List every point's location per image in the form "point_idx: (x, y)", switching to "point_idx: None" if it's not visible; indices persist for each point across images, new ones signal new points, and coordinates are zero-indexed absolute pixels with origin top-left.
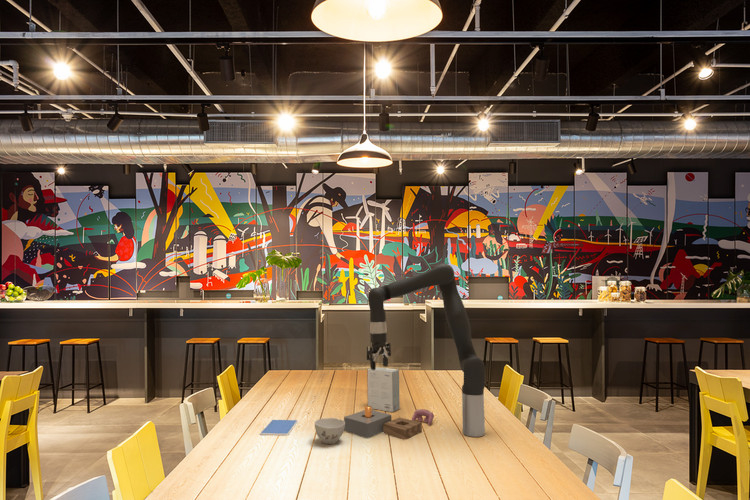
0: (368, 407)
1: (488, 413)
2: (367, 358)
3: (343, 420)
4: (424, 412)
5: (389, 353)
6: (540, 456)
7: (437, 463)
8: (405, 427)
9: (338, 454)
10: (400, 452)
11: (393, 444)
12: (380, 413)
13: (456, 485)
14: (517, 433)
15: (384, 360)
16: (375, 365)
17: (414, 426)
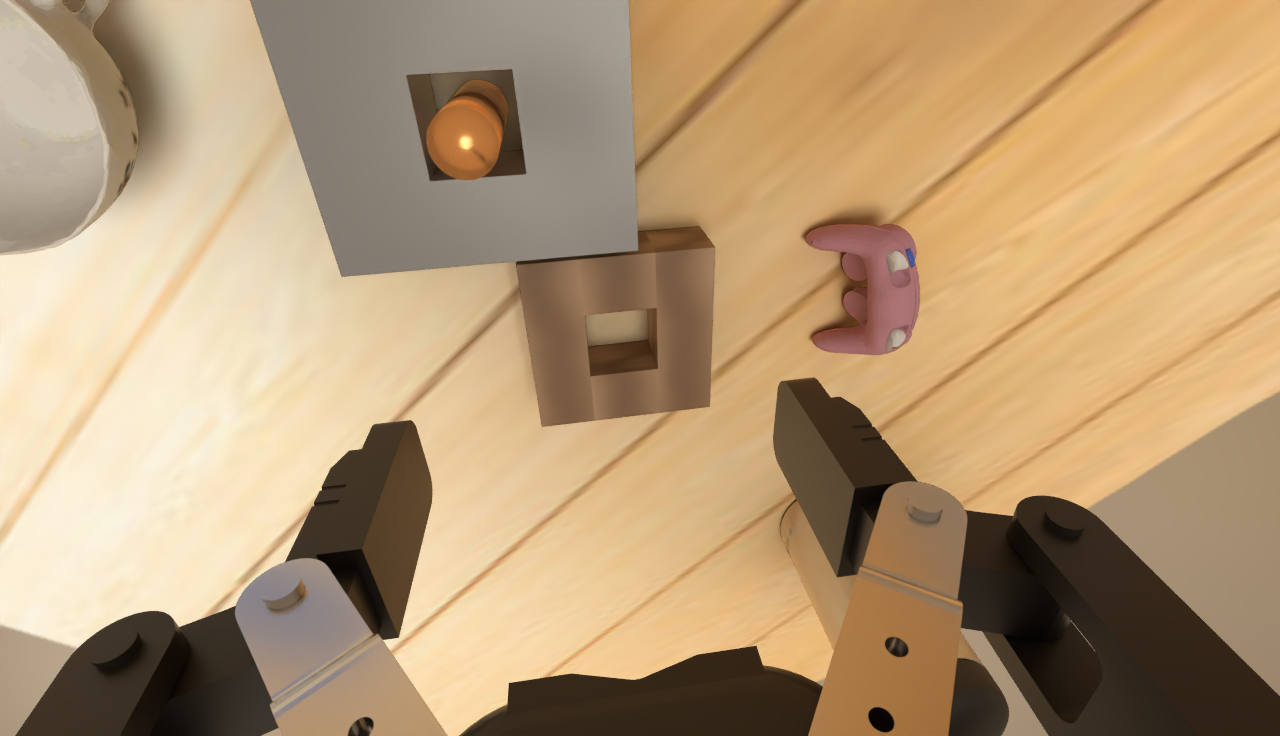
0: (449, 167)
1: (1145, 411)
2: (79, 696)
3: (105, 154)
4: (875, 319)
5: (1012, 664)
6: None
7: (452, 608)
8: (574, 402)
9: (43, 311)
10: None
11: (441, 399)
12: (602, 161)
13: None
14: None
15: (825, 484)
16: (417, 555)
17: (633, 414)
